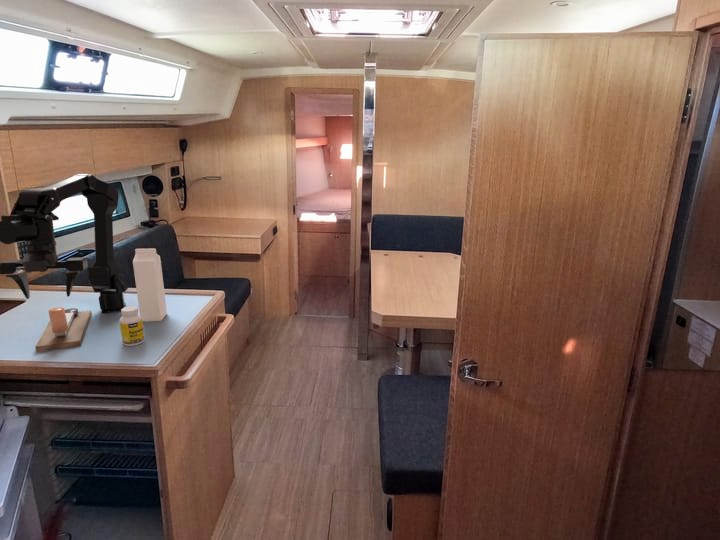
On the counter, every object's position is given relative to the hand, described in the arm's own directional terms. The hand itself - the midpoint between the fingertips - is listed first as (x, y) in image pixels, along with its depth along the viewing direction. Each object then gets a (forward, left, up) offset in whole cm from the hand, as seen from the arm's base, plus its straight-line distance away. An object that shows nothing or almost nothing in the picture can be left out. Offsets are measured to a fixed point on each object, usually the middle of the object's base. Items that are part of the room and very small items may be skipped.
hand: (48, 297), depth 122 cm
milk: (-24, -8, -13) cm, 29 cm away
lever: (-1, -8, -11) cm, 13 cm away
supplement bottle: (-19, +9, -13) cm, 25 cm away
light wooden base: (-1, -6, -13) cm, 14 cm away
